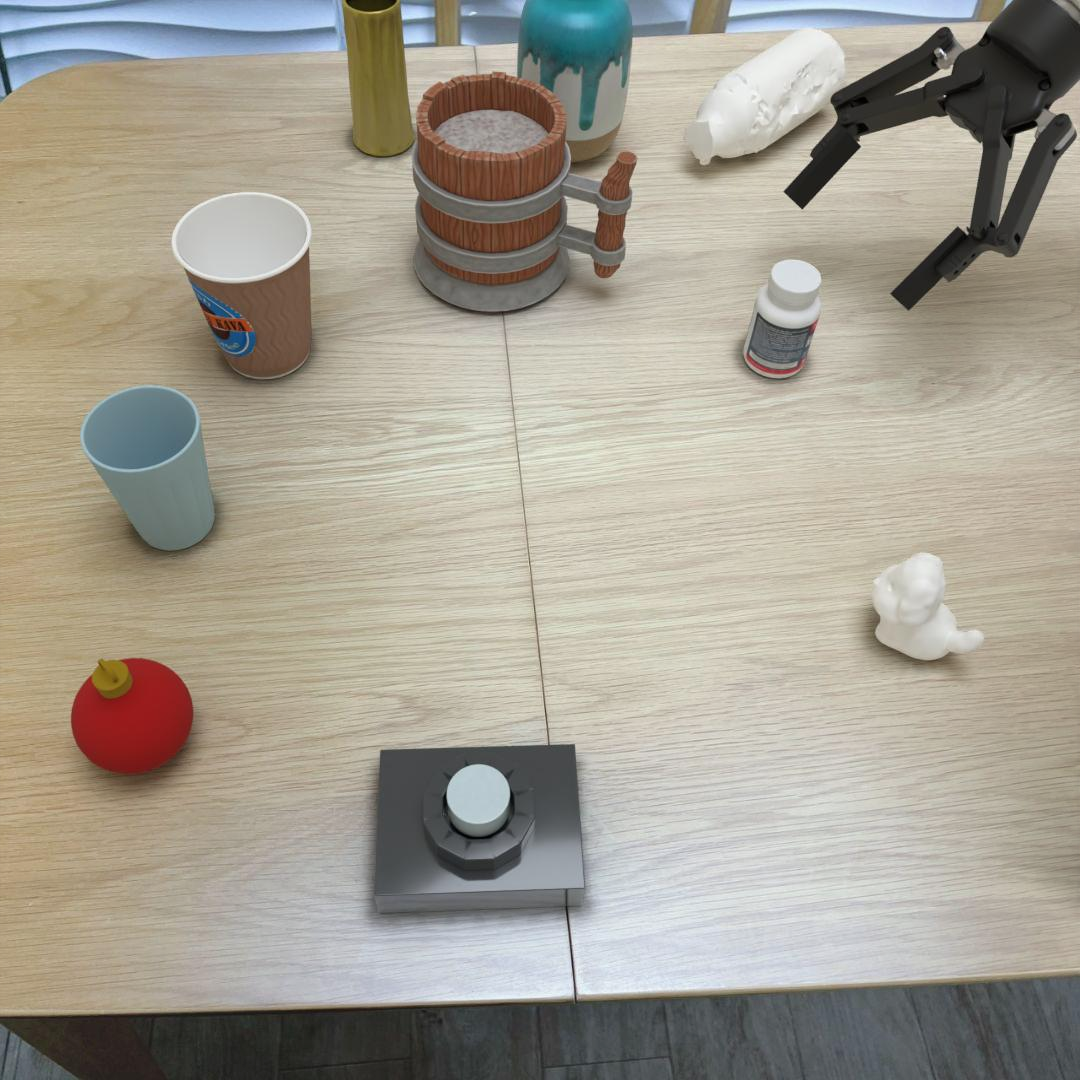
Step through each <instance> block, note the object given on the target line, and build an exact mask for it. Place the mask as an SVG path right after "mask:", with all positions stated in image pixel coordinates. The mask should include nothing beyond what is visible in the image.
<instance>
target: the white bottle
mask: <svg viewBox="0 0 1080 1080" xmlns="http://www.w3.org/2000/svg"><path fill="white" fill-rule="evenodd" d="M846 57H847V55H846V53H845V51H844V50H843V49H842V47H841V46H840V43H838V41H837V40H835V38H833V37H832V35H831V34H829V33H827V32H825V31H823V30H822V28H821V29H815V28H813V27H802V28H800V29H796V30H795V31H793V32H792V33H790V34H789V35H788V36H786V37H785V38H783V39H781V40H780V41H778V42H777V43H775V44H774V45H772V46H770V47H769V48H767V49H766V50H763V51H762V52H761V53H759V54H757V55H756V56H754V57H752V58H750V59H749V60H747V61H746V62H744V63H742V64H741V65H739V66H738V67H736V68H735V69H733V70H731V71H729V72H728V73H726V74H725V75H723V76H722V77H720V79H718V81H716V82H715V84H714V85H713V88H712V90H711V91H709V92H708V93H707V94H706V95H705V96H704V98H703V99H702V100H701V102H700V104H699V106H698V109H697V111H696V120H695V121H694V122H691V123H690V124H689V125H688V126H686V127H684V135H683V136H684V137H683V140H684V143H685V145H686V148H687V150H688V151H689V152H691V153H692V154H693V155H694V156H695V159H697V160H699V164H700V165H702V166H708V165H709V164H710V163H711V160H712V158H713V157H715V156H718V157H720V158H722V159H733V158H738V157H741V156H744V155H750V154H753V153H755V154H757V153H758V152H761V151H763V150H765V149H766V148H767V147H769V146H771V145H772V144H773V143H775V142H777V141H778V140H779V139H781V138H782V137H784V136H785V135H787V134H788V133H790V132H791V131H793V130H794V129H796V128H797V127H798V126H800V125H802V124H803V123H804V122H806V121H807V120H809V119H810V118H811V117H813V116H814V115H816V114H817V113H818V112H820V111H821V110H822V109H824V108H825V107H827V106H829V105H832V104H831V102H830V99H831V96H832V95H833V94H834V93H835V92H837V91H839V90H841V89H842V88H844V87H846V86H848V83H846V79H847V76H848V72H847V69H846V67H845V63H846V62H845V58H846Z"/></svg>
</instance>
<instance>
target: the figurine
mask: <svg viewBox="0 0 1080 1080" xmlns="http://www.w3.org/2000/svg"><path fill="white" fill-rule="evenodd" d="M946 588H947V580H946V578H945V574H944V564H943V561H942V559H941V558H940V557H939V556H936V555H935V554H932V553H930V552H924V551H920V552H917V553H914V554H912V555H910V557H909V558H907V559H905V560H904V561H902V562H901V563H899V564H892V565H890V566H888V567H887V568H885V569H884V570H882V571H881V572H880V573H879V575H877V576H876V578H875V579H873V581H872V588H871V601H872V605H873V607H874V610H875V611H876V613H877V614H878V615H879V623H878V624H877V626H876V628H875V638H876V639H877V640H878V641H879V642H880V643H882V644H883V645H885V646H887V647H889V648H891V649H893V650H896V651H898V652H900V653H902V654H904V655H906V656H908V657H911V658H912V659H917V660H922V661H932V660H933V661H935V660H938V659H942V658H943V657H945V656H946V655H948V654H949V653H955V654H970V653H974V652H976V651H978V650H979V649H980V648H981V647H982V646H983V644H984V642H985V635H984V633H983V632H982V631H981V630H979V629H969V630H966V631H963V630H958V622H957V618H956V617H955V615H954V613H952V611H951V610H950V609H949V607H948V606H947V605H946V604H944V603H943V601H944V599H945V598H946V597H945V596H946Z"/></svg>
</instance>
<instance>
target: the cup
mask: <svg viewBox="0 0 1080 1080" xmlns="http://www.w3.org/2000/svg"><path fill="white" fill-rule="evenodd" d="M199 413H200V412H199V409H198V407H197V406H196V404H195V403H194V402H193V400H192V399H191V398H190V397H189V396H188V395H186V394H185V393H183V392H181V391H179V390H177V389H175V388H172V387H168V386H165V385H155V384H143V385H137V386H132V387H127V388H125V389H121V390H119V391H116V392H114V393H112V394H109V395H108V396H107V397H105V398H103V399H102V400H101V401H99V402H98V403H97V404H95V405H94V406H93V407H92V409H90V411H89V412H88V414H87V415H86V416H85V418H84V420H83V421H82V424H81V427H80V432H79V443H80V446H81V448H82V449H81V450H82V451H83V453H84V455H85V456H86V457H87V459H88V460H89V462H90V463H91V465H92V466H93V468H94V470H96V473H97V474H98V475H99V476H100V478H101V479H102V481H103V482H104V484H105V485H106V487H107V488H108V490H109V491H110V493H111V494H112V496H113V497H114V499H115V500H116V502H117V503H118V505H119V506H120V508H121V509H122V511H123V512H124V514H125V515H126V517H127V518H128V520H129V521H130V523H131V524H132V526H133V527H134V528H135V530H136V531H137V533H138V535H139V536H140V537H141V538H142V540H143V541H145V542H146V543H147V544H148V545H149V546H151V547H152V548H155V549H158V550H162V551H168V552H170V551H181V550H185V549H187V548H190V547H192V546H194V545H196V544H198V543H200V542H201V541H202V540H203V539H204V538H205V537H206V536H207V535H208V534H209V533H210V532H211V530H212V528H213V526H214V522H215V518H216V513H215V507H214V501H213V500H214V499H213V493H212V486H211V482H210V476H209V475H210V474H209V468H208V463H207V462H208V461H207V456H206V451H205V445H204V435H203V429H202V423H201V416H200V414H199Z"/></svg>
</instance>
